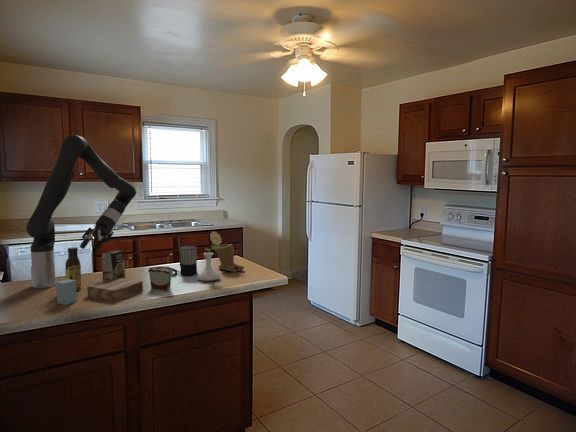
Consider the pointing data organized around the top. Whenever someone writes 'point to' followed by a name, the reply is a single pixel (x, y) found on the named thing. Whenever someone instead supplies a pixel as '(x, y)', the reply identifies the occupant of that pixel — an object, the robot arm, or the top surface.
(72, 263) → the sauce bottle
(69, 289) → the slate block
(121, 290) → the walnut block
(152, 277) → the food container
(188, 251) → the milk frother
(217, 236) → the flower in vase
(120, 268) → the coffee box
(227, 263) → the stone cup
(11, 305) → the top surface
